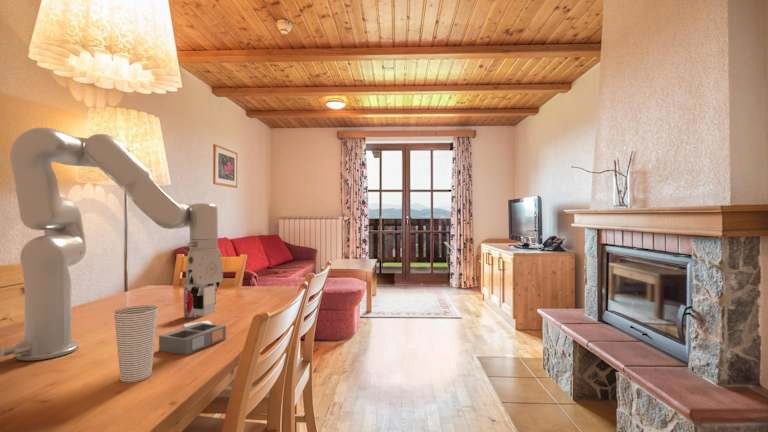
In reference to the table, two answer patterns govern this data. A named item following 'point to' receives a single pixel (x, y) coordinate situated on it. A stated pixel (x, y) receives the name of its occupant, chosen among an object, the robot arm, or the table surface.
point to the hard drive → (196, 323)
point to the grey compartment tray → (192, 338)
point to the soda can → (189, 305)
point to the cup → (135, 341)
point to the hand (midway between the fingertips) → (204, 306)
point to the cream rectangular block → (207, 300)
